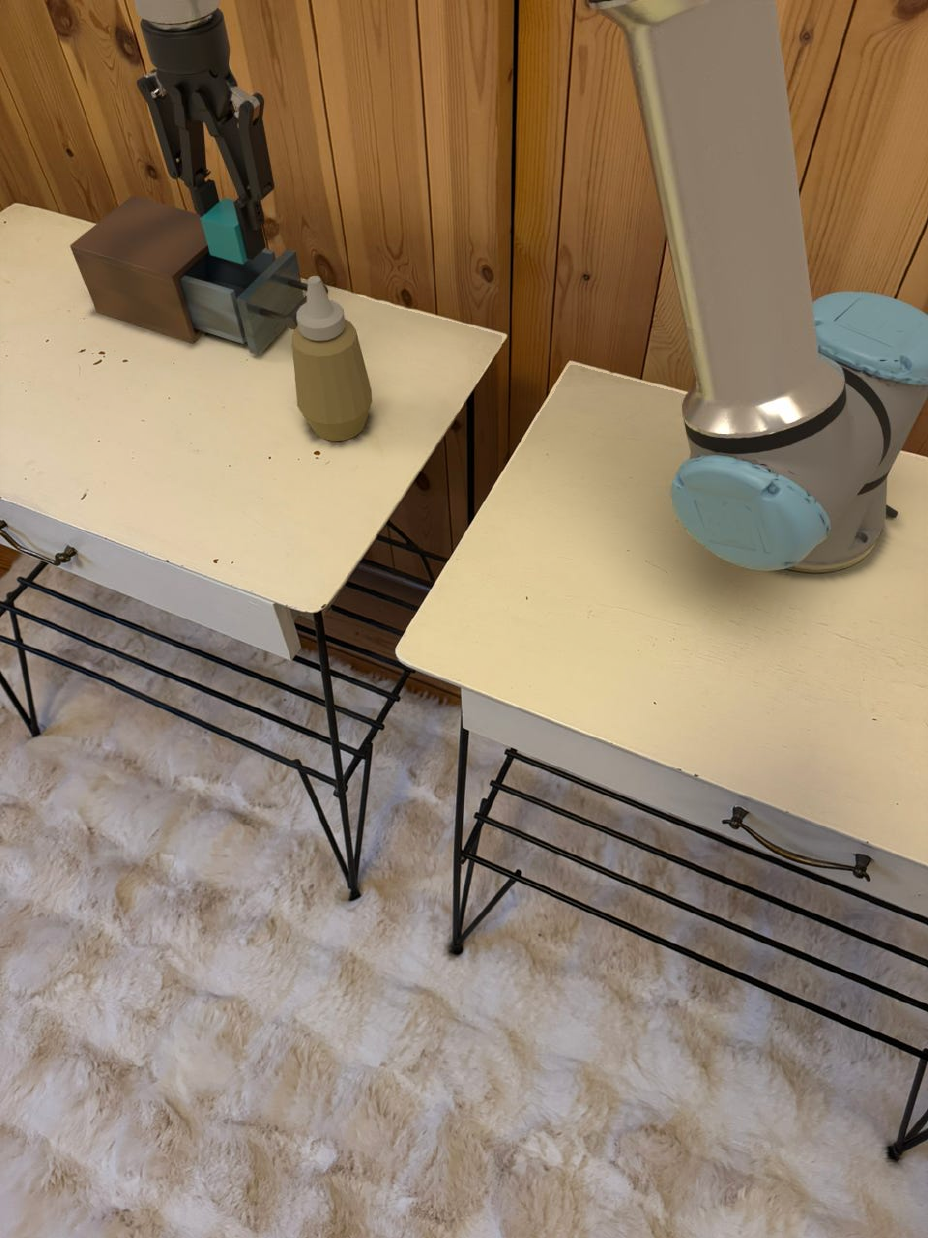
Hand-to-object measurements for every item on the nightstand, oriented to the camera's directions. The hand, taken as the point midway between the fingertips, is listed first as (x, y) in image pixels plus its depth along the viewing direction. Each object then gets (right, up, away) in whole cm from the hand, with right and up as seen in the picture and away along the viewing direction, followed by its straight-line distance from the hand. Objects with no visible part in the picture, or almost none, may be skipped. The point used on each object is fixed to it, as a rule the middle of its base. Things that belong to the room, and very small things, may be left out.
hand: (237, 246), depth 102 cm
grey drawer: (0, -6, +8) cm, 10 cm away
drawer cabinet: (-11, -2, +12) cm, 17 cm away
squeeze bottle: (+11, -20, -1) cm, 23 cm away
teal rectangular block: (0, 0, 0) cm, 0 cm away
